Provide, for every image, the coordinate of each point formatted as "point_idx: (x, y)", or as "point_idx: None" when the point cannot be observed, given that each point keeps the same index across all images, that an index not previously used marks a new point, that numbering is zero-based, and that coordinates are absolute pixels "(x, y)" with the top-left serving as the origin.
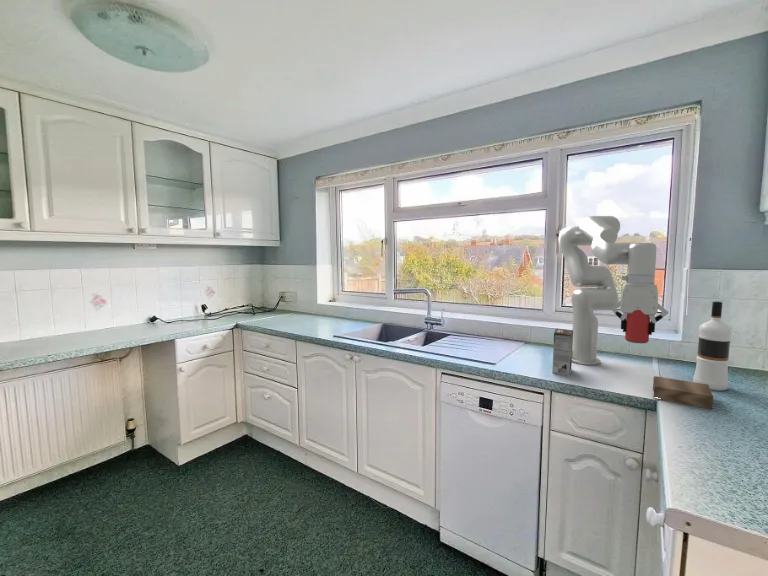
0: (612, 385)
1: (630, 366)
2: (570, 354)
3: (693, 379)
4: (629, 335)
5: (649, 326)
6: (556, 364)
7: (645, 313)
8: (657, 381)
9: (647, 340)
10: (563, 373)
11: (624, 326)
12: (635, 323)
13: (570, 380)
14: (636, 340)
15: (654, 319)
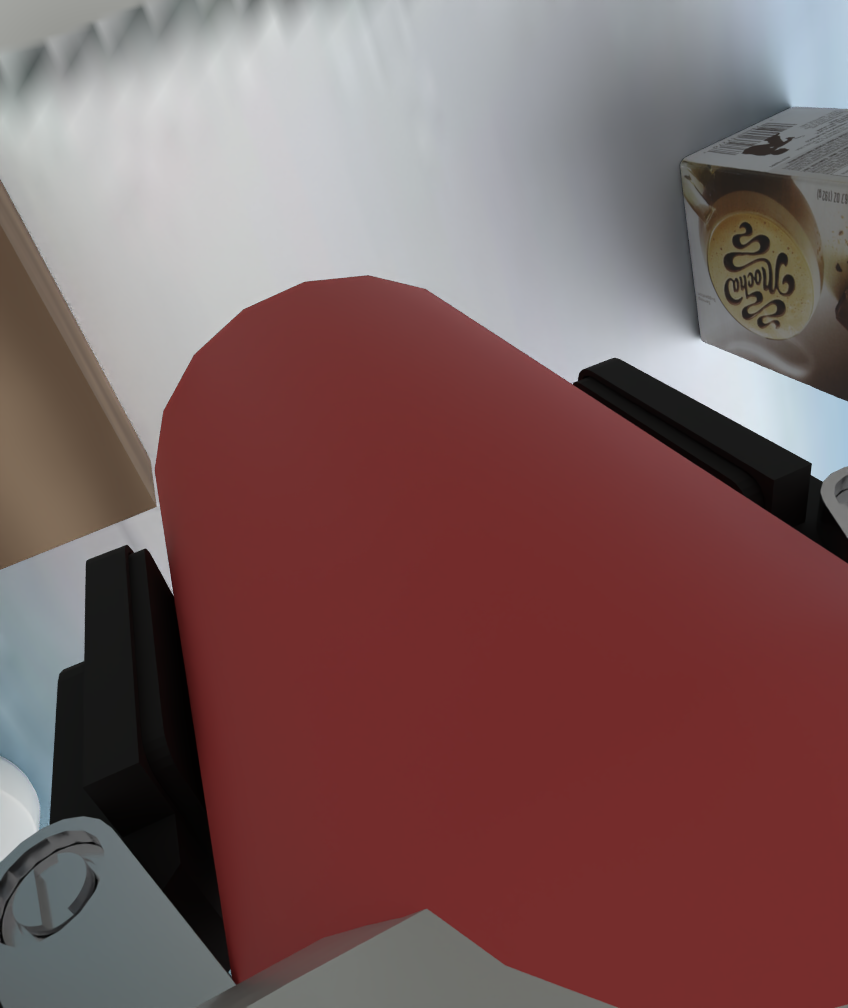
0: (369, 209)
1: None
2: (835, 182)
3: (15, 784)
4: (455, 310)
5: (157, 675)
6: (835, 119)
7: (361, 983)
8: (45, 364)
9: (157, 472)
10: (728, 139)
11: (667, 406)
12: (490, 432)
13: (649, 25)
14: (292, 291)
15: (26, 967)
